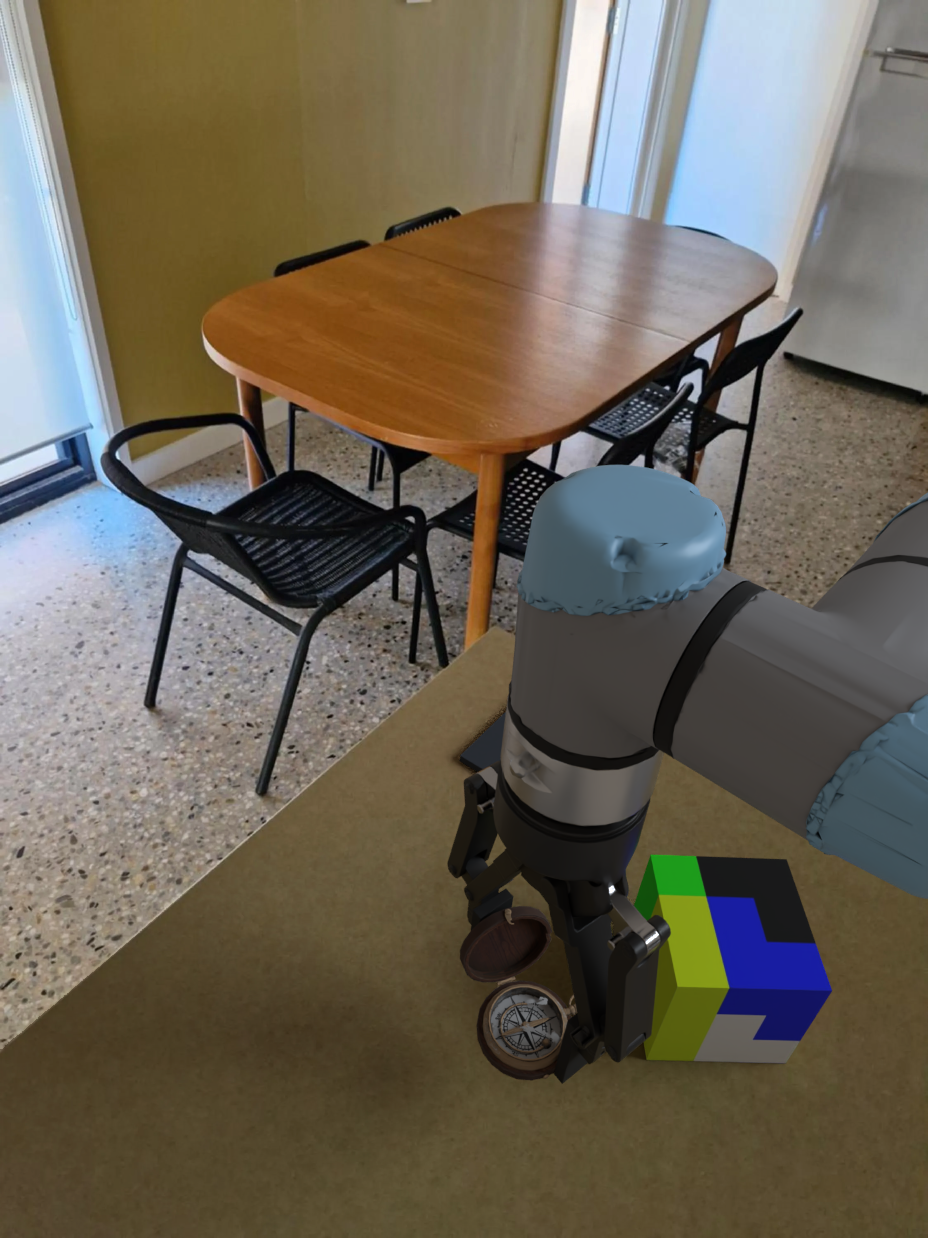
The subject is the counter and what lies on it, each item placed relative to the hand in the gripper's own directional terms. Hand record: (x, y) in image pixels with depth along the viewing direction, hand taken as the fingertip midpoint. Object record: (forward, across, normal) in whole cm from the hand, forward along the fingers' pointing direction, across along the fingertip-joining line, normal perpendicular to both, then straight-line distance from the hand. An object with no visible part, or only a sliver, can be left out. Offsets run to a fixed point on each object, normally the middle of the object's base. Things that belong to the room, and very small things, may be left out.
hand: (527, 1009), depth 57 cm
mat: (+7, -20, +21) cm, 30 cm away
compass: (0, 0, 0) cm, 1 cm away
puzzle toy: (+7, +4, +14) cm, 17 cm away
